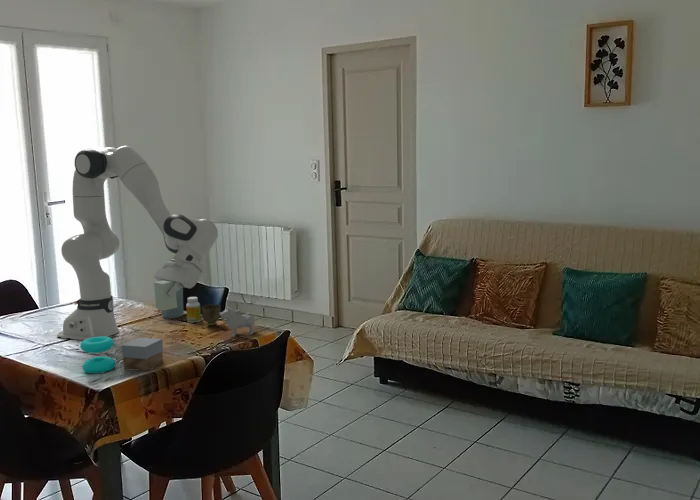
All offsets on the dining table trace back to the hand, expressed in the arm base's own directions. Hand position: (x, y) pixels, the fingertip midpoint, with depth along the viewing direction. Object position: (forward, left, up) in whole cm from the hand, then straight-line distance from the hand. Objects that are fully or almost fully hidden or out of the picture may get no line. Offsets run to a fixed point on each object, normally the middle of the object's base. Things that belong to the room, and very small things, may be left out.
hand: (163, 294), depth 235 cm
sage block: (0, +1, -5) cm, 5 cm away
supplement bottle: (-9, +42, -21) cm, 48 cm away
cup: (+1, +36, -21) cm, 42 cm away
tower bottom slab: (-3, -12, -21) cm, 25 cm away
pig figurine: (+16, +25, -21) cm, 37 cm away
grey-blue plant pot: (-22, +51, -21) cm, 59 cm away
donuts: (-15, -18, -21) cm, 32 cm away
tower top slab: (-3, -12, -17) cm, 21 cm away
